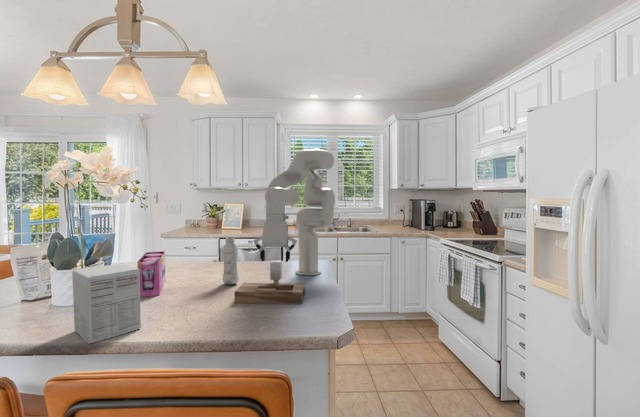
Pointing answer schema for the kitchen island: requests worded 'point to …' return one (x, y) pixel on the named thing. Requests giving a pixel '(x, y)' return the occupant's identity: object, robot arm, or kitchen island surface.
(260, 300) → the keyhole plate
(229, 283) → the plastic bottle
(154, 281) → the gum box
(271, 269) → the steel peg
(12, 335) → the kitchen island surface
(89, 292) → the supplement box
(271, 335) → the kitchen island surface
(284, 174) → the robot arm
